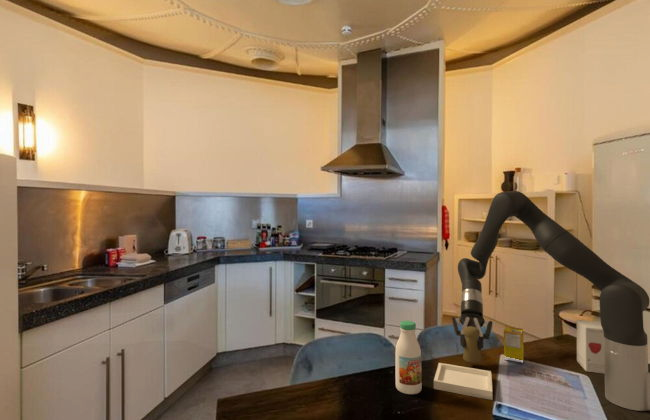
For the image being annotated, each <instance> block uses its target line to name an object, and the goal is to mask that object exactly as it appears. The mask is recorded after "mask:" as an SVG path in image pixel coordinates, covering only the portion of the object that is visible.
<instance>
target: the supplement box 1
mask: <svg viewBox="0 0 650 420" xmlns="http://www.w3.org/2000/svg"><path fill="white" fill-rule="evenodd" d="M503 349H504V350H503V354H504V355H503V357H504V356H506V357H510V358H515V359H519V360H523V361H524V360H525V359H524V358H525V356H524V355H525V352H524V351H525V349H524V328H520V327H514V326H505V327H504V329H503Z"/></svg>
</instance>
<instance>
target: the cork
mask: <svg viewBox="0 0 650 420" xmlns="http://www.w3.org/2000/svg"><path fill="white" fill-rule="evenodd" d="M463 332H464V335H465V348H463V354H462V359H463V360H464V361H465V362H468V363H473V364H479V363H481V362H482V361H483V359H482V353H481V350H479V335H480V332H479V330H478V328H476V327H472V326H467V327H465V328H464V331H463Z"/></svg>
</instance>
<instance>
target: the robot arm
mask: <svg viewBox="0 0 650 420" xmlns="http://www.w3.org/2000/svg"><path fill="white" fill-rule="evenodd" d="M488 209H489V210H488V212H487V215H486V218H485V221H484V224H483V226H482V229H481V230H480V233H479V236H477V239H476V241H475V243H474V244H473V247H471V248H472V249H471V250H470V256H471V257H472V258H473V259H471V258H468V257H467V258H466V257H464V258H461V259H460V260H459V261H458V262H457V263H458V264H457V272H458V275H459V279H460V282H461V298H460V316H459V317H457V318H455V316H454V317H453V316H452V317H451V322H452V326H453V331H454V333H455V335H456V336H457V337H458V336H459V337H460V346H461V347H462V348H463V349H464V348H465V335H464V332H463V331H464V328H465V327H467V326H472V327H476V328H478V330H479V332H480V335H479V337H478V340H479V350H480V351H482V350H483V349H484V341H485V340H490V336H491V332H492V329H493V321H492V320H489V321H488V320H486V319H485V318H484V301H483V292H482V283H481V280H482V279H483V278H484V277H485V275H486V272H487V267H488V264H489V263H488V262H489V260H490V257H491V256H492V254H493V253H494V251H495V249H496V248H497V244H498V242H499V233H500V230H501V228H502V226H503V225H504V223H505V222H506V221H507V220H508V219H509V218H513V217H514V218H516V219H518V220H519V221H521V222H522V223H523V224H524V225H525V226H527V227H528V229H529V230H530V231H531V233H532V235H533V237H534V238H535V240H536V242H537V243H538V245H539V246H540V248H541V249H542V250H543V251H544V252H545V253H546V254H548V255H549V256H550V257H551V259H554V260H555V261H556V262H557V263H558V264H560V265H562V266H564V268H567V269H568V270H570V271H572V272H573V273H576V274H577V275H579V276H580V277H581V276H582V277H583V278H585V279H586V280H587V281H588V282H589V283H591V284H592V285H594V287H596V288H597V289H598V290H599V291H600V294H599V317H600V322H601V326H602V329H603V332H604V367H605V374H604V396H605V399H606V400H607V401H609V402H610V403H612V404H613V405H616V406H617V407H621V408H623V409H627V410H632V411H638V412H639V411H640V412H643V411H644V412H645V411H650V371H649V355H648V354H649V353H648V350H649V348H648V346H649V345H648V334H647V333H646V331H645V328H644V311H646V310H647V309H648V308H649V306H650V297H649V294H648V292H647V291H646V290H645V288H644V287H642V286H641V285H639V284H638V283H636V282H635V281H633V280H632V279H630V278H629V277H627V276H625V274H623V273H621V272H620V271H618V270H617V269H616V268H614V267H612V266H611V265H609V264H608V263H607V262H606V261H604V260H603V259H602V258H601V257H600V256H599V255H598V254H596V252H594V251H593V250H592V249H591V248H590V247H588V246H587V245H586V244H585V243H583V242H582V241H581V240H580V239H578V238H577V237H576V236H574V235H573V234H572V233H571V232H570V231H568V230H567V229H566V228H564V227H563V226H561V225H560V224H559V223H558V222H557V221H556V220H554V219H553V218H551V217H550V216H549V215H547V214H546V213H545V212H543V210H541V209H540V208H539V207H538V206H537V205H536V204H535V203H534V202H533V201H532V200H531V199H530V198H529V197H528V196H527V195H526V194H525V193H523V192H521V191H518V190H508V191H501V192H498V193H497V194H495V196H494V197H493V198H492V201H491V203H490V206H489V208H488ZM459 323H460V324H461V325H462V326H461V330H459V326H458V325H459ZM484 325H485V328H486V329H485V332H484V333H483V331H482V327H483V326H484Z"/></svg>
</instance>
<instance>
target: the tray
mask: <svg viewBox="0 0 650 420" xmlns="http://www.w3.org/2000/svg"><path fill="white" fill-rule="evenodd" d="M492 379H493V378H492V371H491V370H487V369H486V370H485V369H480V368H473V367H467V366H460V365H455V364H449V363H442V362H438V364H437V368H436V371H435V375H434V378H433V389H434V390H439V391H444V392H448V393H449V392H450V393H452V394H453V393H454V394H457V395H463V396H470V397H474V398H479V399H484V400H489V401H493V380H492Z"/></svg>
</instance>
